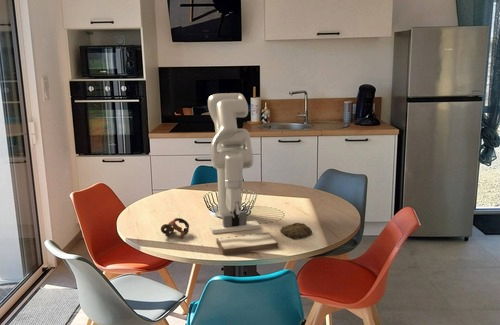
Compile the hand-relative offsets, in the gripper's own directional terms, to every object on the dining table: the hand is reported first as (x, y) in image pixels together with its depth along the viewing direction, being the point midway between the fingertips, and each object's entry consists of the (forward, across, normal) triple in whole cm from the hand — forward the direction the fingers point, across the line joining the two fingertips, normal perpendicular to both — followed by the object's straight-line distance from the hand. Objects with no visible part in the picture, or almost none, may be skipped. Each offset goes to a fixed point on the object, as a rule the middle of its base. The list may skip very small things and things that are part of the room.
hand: (234, 224), depth 206 cm
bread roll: (+3, +13, +24) cm, 27 cm away
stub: (+2, 0, 0) cm, 2 cm away
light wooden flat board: (+2, +20, 0) cm, 20 cm away
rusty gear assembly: (+3, 0, -26) cm, 26 cm away
